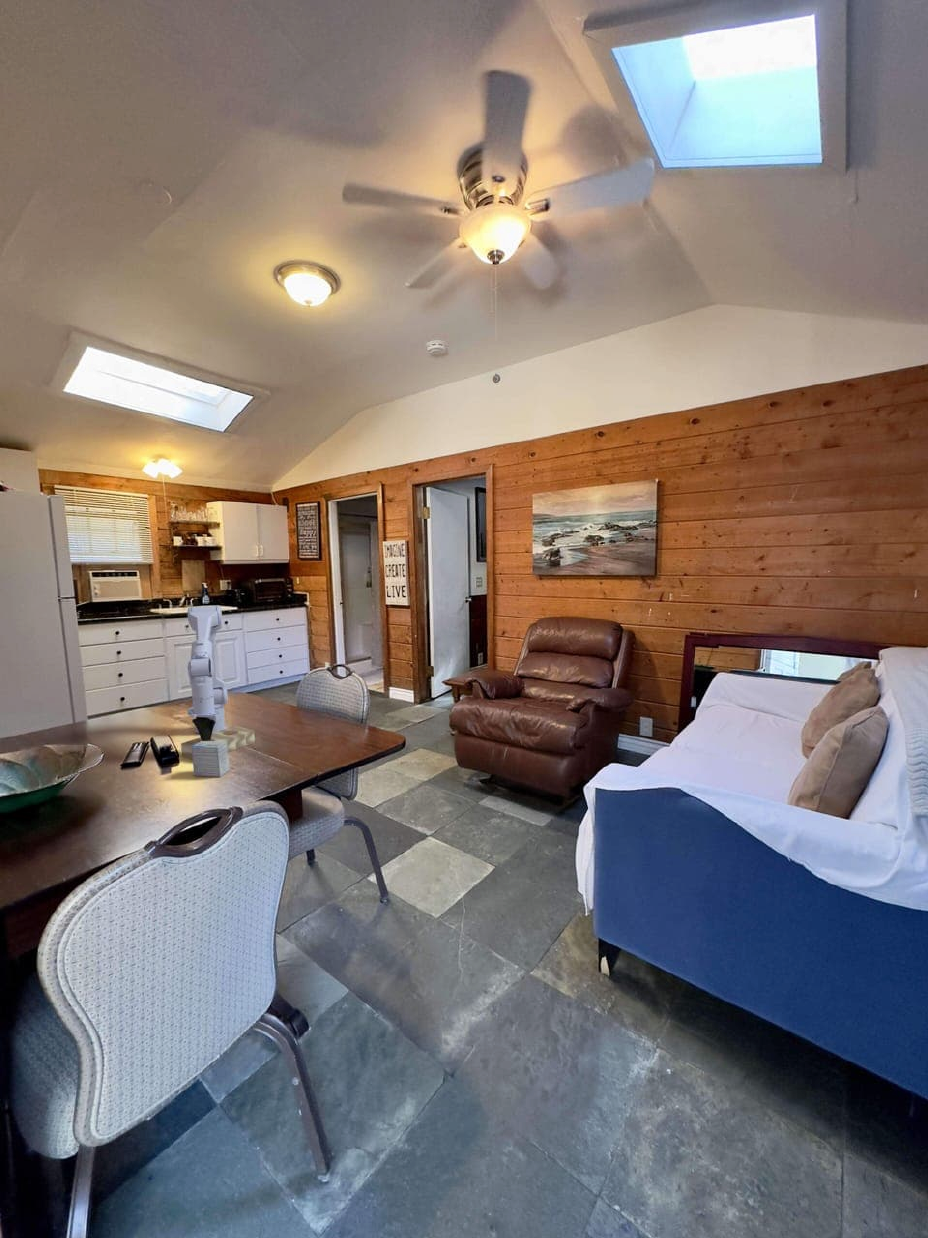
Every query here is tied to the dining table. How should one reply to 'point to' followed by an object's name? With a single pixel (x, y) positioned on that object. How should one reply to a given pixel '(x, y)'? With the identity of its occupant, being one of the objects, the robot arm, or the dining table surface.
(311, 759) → the dining table surface
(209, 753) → the medicine box
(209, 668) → the robot arm
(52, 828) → the dining table surface
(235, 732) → the far peg
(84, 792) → the dining table surface
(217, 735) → the socket board
